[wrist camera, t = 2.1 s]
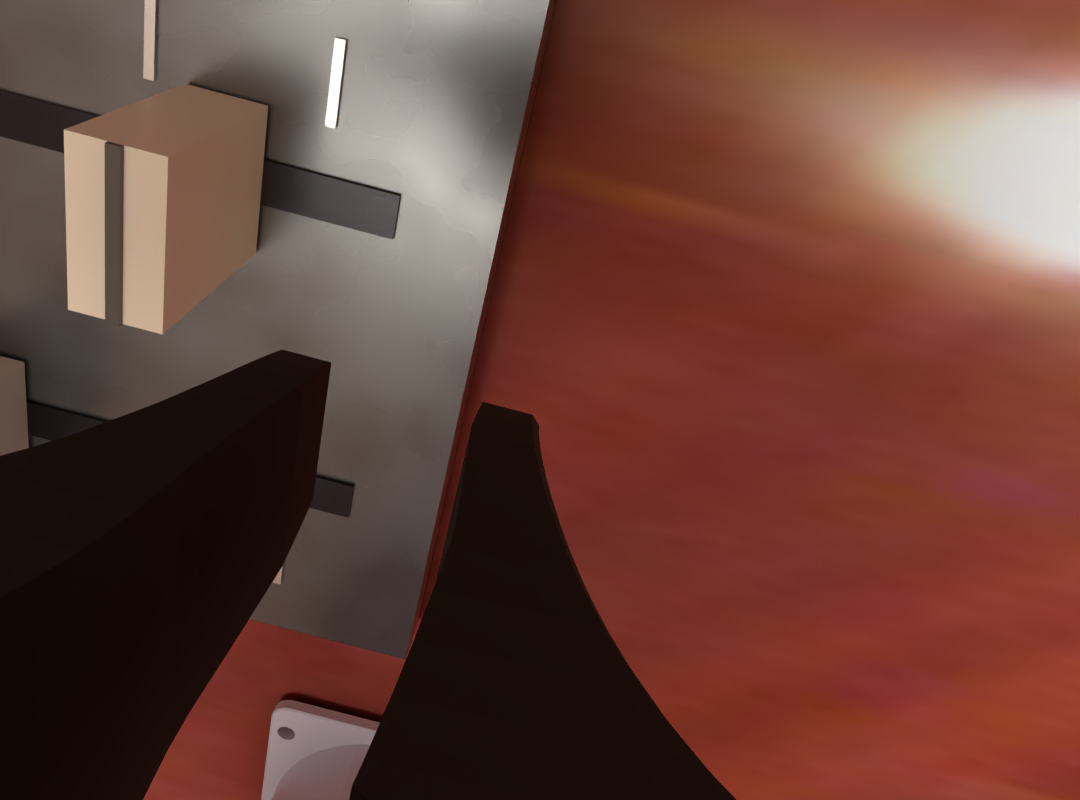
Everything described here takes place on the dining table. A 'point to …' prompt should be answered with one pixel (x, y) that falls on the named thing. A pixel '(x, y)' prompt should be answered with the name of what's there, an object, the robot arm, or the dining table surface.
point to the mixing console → (293, 248)
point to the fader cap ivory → (161, 204)
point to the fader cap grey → (12, 406)
